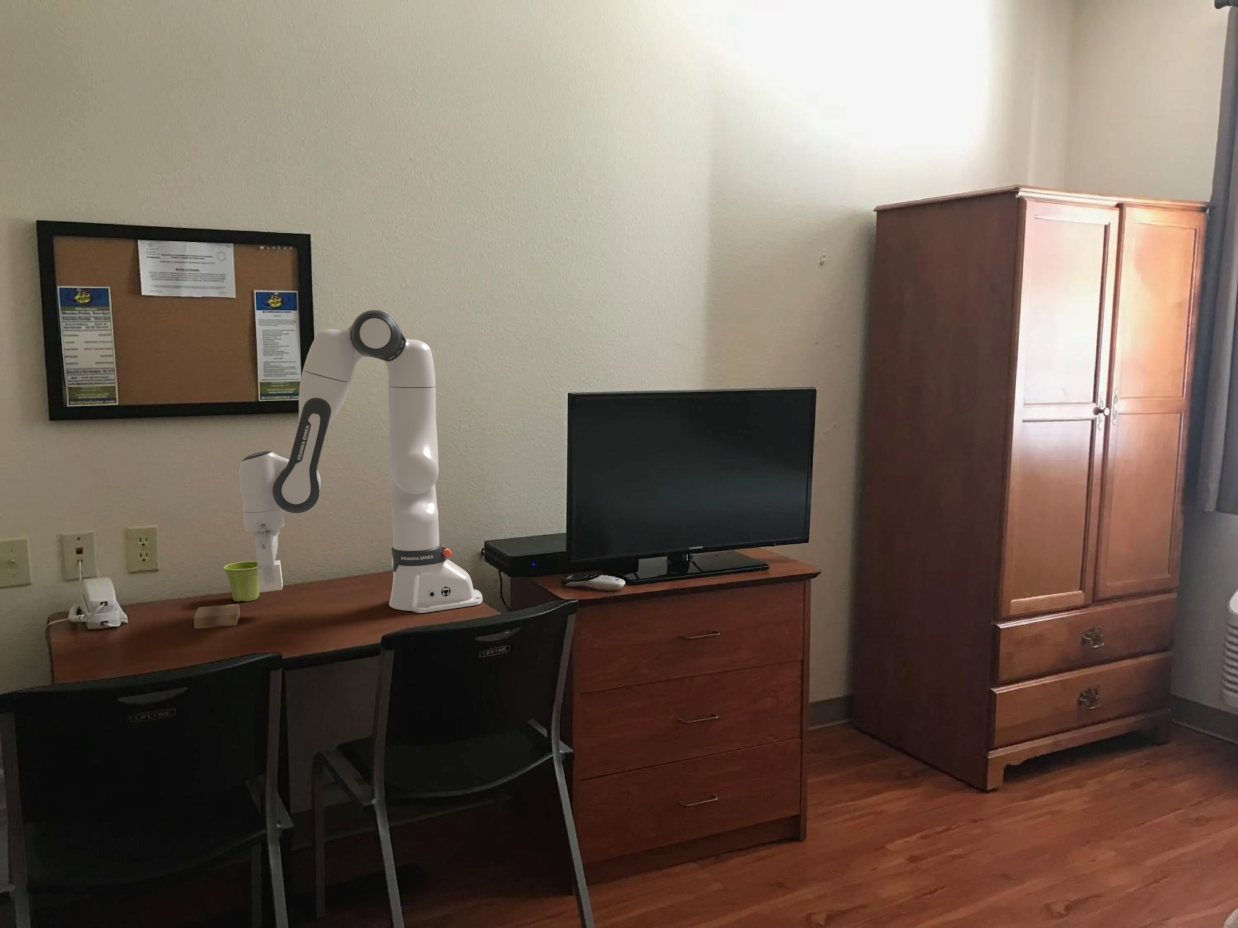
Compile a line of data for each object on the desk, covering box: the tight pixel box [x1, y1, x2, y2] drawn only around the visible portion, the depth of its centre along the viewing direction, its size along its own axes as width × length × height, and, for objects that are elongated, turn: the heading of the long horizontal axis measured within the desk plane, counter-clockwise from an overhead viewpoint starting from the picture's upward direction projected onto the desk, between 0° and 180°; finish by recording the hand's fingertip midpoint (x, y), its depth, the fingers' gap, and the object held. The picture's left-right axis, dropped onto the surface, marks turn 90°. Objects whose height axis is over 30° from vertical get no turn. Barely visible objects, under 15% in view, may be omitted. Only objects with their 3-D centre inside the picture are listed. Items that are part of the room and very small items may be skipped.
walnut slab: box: [193, 603, 240, 630], centre depth 235 cm, size 9×9×3 cm
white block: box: [257, 559, 284, 593], centre depth 240 cm, size 5×5×6 cm
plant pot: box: [223, 560, 260, 603], centre depth 254 cm, size 9×9×9 cm
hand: (270, 578), depth 240 cm, fingers closed on white block, 5 cm apart
